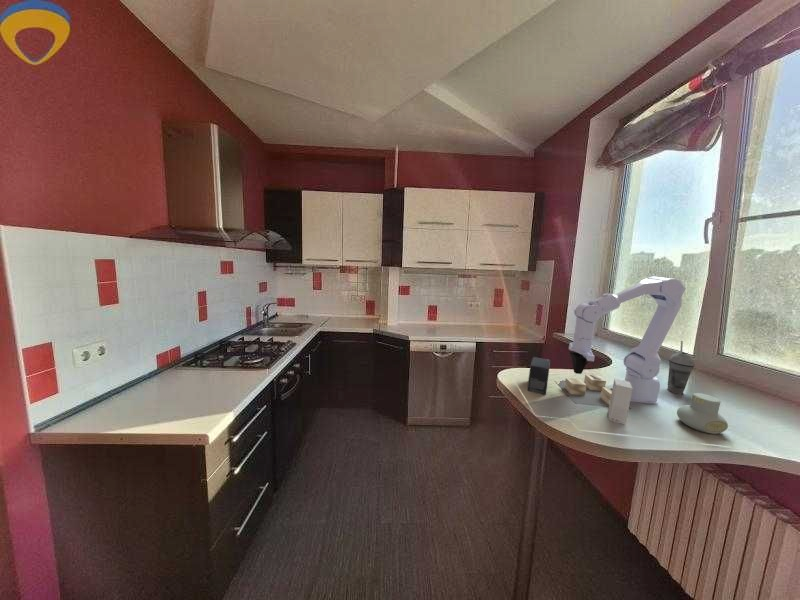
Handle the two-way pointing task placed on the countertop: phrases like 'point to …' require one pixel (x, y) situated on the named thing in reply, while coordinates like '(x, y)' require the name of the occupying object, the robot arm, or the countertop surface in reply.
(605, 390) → the marked block
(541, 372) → the small box
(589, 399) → the mat
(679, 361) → the beverage cup
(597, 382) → the marked block
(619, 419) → the skincare box
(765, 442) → the countertop surface
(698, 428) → the air freshener
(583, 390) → the plain block
